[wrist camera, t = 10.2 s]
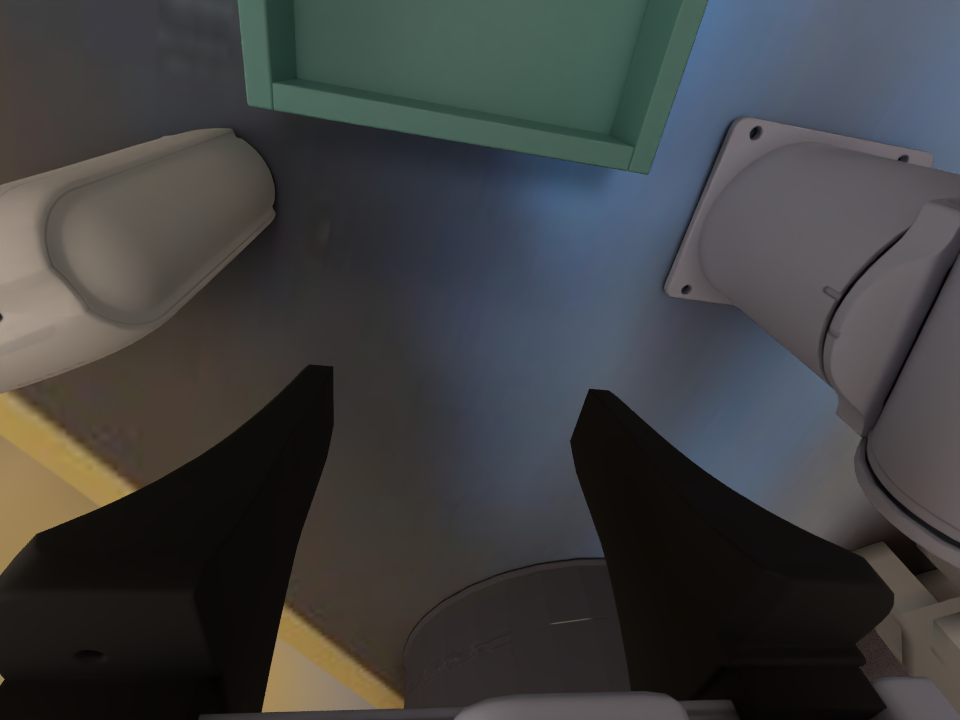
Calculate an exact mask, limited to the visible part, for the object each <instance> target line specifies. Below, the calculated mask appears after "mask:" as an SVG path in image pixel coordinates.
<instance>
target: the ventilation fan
mask: <svg viewBox="0 0 960 720" xmlns="http://www.w3.org/2000/svg"><path fill="white" fill-rule="evenodd" d="M404 668H405V670H406V682H405V703H404V709H408V708H444V707H467V706H470V705H472V704H475V703H477V702H480V701H482V700H485V699H487V698H493V697H500V696H507V695H514V694H543V693H585V692H627V691H631V689H630V682H629V675H628V668H627V662H626V656H625V651H624V645H623V640H622V634H621V628H620V623H619V618H618V613H617V608H616V604H615V599H614V594H613V589H612V585H611V581H610V576H609V572H608V568H607V564H606V559H605V558H597V559H573V560H565V561H558V562H551V563H543V564H537V565H534V566H530V567H526V568H522V569H518V570H514V571H510V572H506V573H503V574H500V575H497V576H495V577H492V578H490V579H487V580H485V581H482V582H479V583H477V584H474V585H472V586H470V587H468V588H466V589H464V590H462V591H461V592H459V593H457V594H455V595H454V596H452V597H450V598H448V599H446V600H445V601H443V602H442V603H441V604H439V605H438V606H437V607H436V608H435V609H433V610H432V611H431V612H430V613H428V614H427V615H426V616H425V617H424V618H423V619H422V620H421V621H420V623H419V624H418V625H417V627H416V628H415V629H414V630H413V632H412V633H411V634H410V636H409V639H408V641H407V644H406V647H405V650H404Z"/></svg>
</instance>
